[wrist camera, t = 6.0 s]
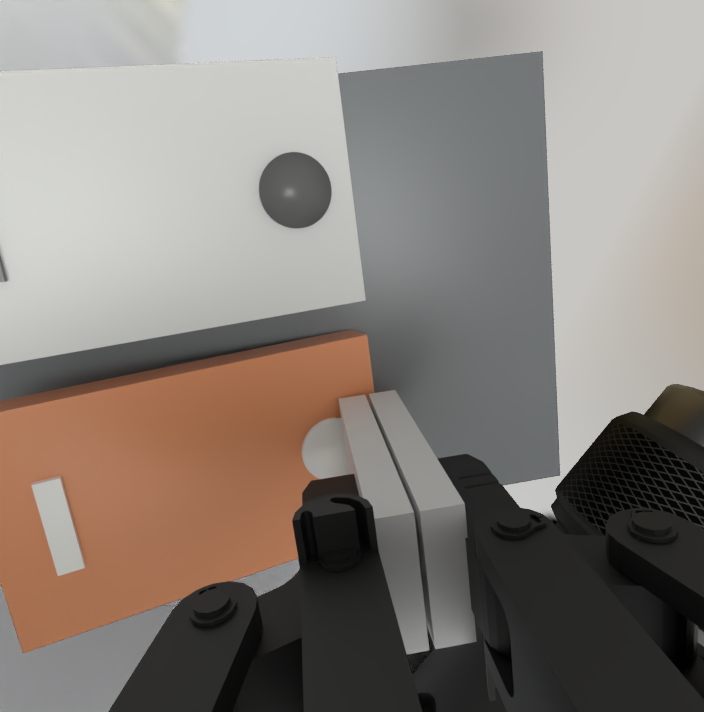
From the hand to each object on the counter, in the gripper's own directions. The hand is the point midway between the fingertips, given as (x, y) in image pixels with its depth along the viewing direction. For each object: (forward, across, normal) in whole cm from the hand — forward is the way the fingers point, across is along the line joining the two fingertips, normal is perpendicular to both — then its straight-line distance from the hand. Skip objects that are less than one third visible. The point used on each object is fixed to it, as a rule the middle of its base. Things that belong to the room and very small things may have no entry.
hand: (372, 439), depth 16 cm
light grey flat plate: (0, -5, +7) cm, 8 cm away
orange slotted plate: (0, -5, 0) cm, 5 cm away
